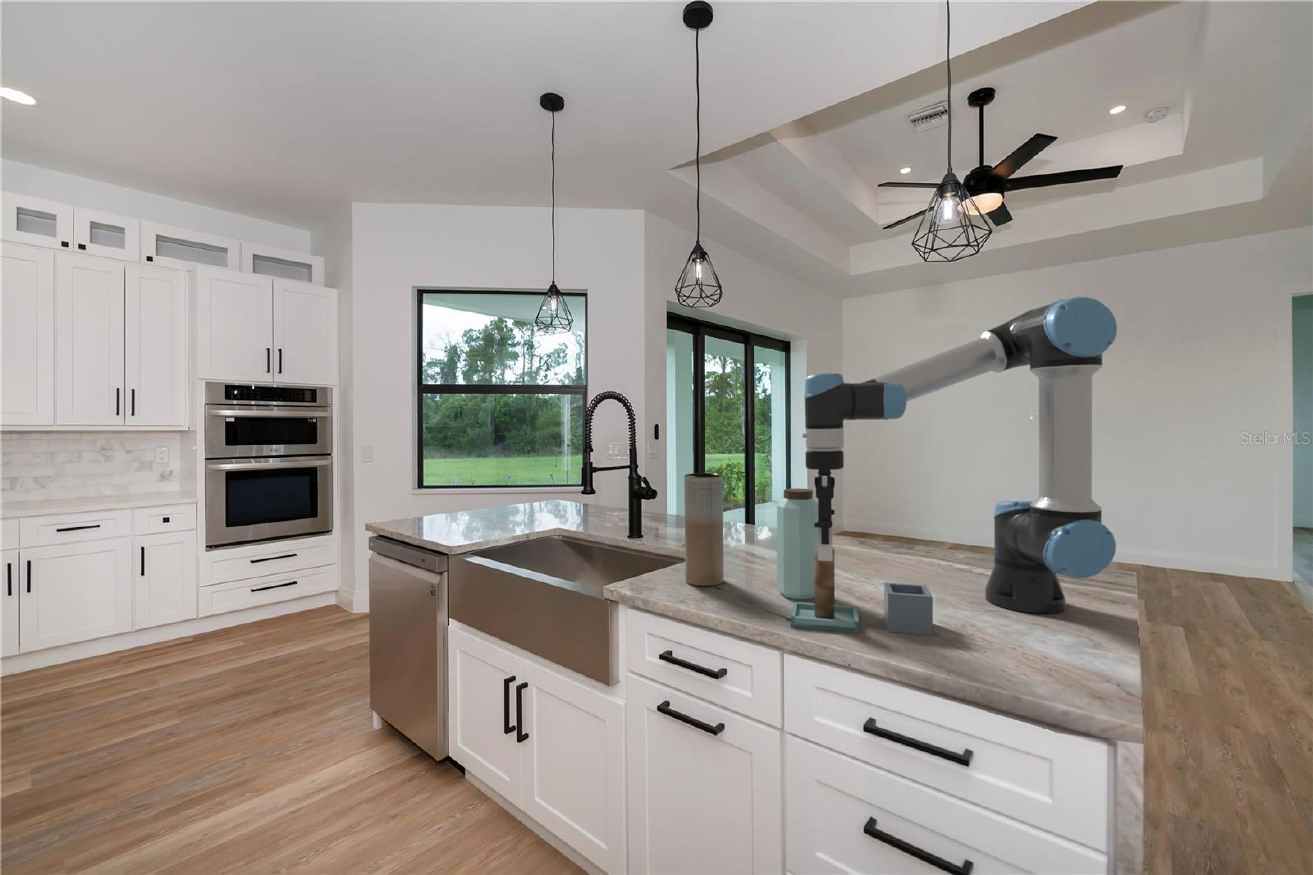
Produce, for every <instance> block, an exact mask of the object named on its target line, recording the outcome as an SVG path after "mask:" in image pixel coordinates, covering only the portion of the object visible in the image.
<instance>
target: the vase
mask: <svg viewBox="0 0 1313 875" xmlns="http://www.w3.org/2000/svg"><path fill="white" fill-rule="evenodd" d="M683 478H684V480H683V482H684V483H683V484H684V562H685V564H684V565H685V567H684V570H685V572H684V573H685V574H684V575H685V582H686V583H687V584H689V585H692V586H697V587H714V586H718V585H721V584H723V583H724V572H725V571H724V565H725V564H724V475H723V474H721V473H716V472H715V473H714V472H695V473H693V472H692V473H687V474H684V477H683Z"/></svg>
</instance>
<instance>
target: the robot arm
mask: <svg viewBox="0 0 1313 875" xmlns="http://www.w3.org/2000/svg"><path fill="white" fill-rule="evenodd" d="M1117 332H1118V324H1117V320H1116V317H1115V315H1114V313H1113V312H1112V310H1111V309H1110V308H1109V307H1108V306H1106V305H1105V304H1104V303H1103V302H1101V301H1100V300H1098V299H1095V298H1093V297H1088V296H1087V297H1086V296H1078V297H1077V296H1075V297H1071V298H1070V297H1069V298H1064V299H1059V300H1057V301H1054V302H1053V303H1050V304H1047V305H1044V306H1041V307H1038V308H1033V309H1031V310H1028V311H1026V312H1023V313H1022V314H1019V315H1017V316H1015V317H1014V318H1012V319H1009V320H1007V321H1006V322H1004V323H1002V324H999V325H997V326H995V327H993V328H991V329H988V330H986V331H983V332H982V333H980V334H979V336H978V338H977V339H974V340H971V341H969V342H967V343H964V344H961V345H959V346H956V347H953V348H950V349H948V350H945V351H943V352H940V353H938V354H935V355H933V356H930V357H927V358H925V359H921V360H919V361H916V362H914V363H911V364H908V365H906V366H903V367H900V368H897V369H895V370H893V371H890V372H887V373H883V374H882V375H880V376H877V377H876V376H875V377H873V378H871V379H869V380H866V381H864V382H859V383H858V382H855V383H850V382H845V381H844V376H843V374H841V373H832V372H831V373H829V372H828V373H814V374H810V375H808V376H807V377H806V379H805V384H804V385H805V387H804V396H803V397H804V398H803V399H804V415H805V416H804V418H805V420H804V422H805V424H804V427H805V432H806V433H805V432H804V433H802V436H801V437H802V439H805V447H806V448H807V449H808V450H806V451H805V468H807V469H809V470H818V472H817V475H818V476H815V477H814V488H815V498H816V499H818V500H817V501H818V502H817V503H818V523H814V527H818V560H820V561H833V551H832V548H833V518H832V515H835V509H832V499H834V497H835V496H834V494H835V493H834V492H835V491H834V489H835V487H836V486H835V485H836V483H835V482H836V480H835V477H834V476H832V471H833V470H836V471H837V470H842V469H843V468H844V467H845V466H844V464H845V462H844V461H845V460H844V459H845V458H844V455H845V453H844V451H843V450H842V448H844V447H845V444H844V443H845V438H844V437H845V435H844V434H845V432H844V421H856V420H857V421H858V420H859V421H861V420H863V421H864V420H867V421H868V420H869V421H870V420H871V421H873V420H885V421H888V420H897V419H900V418H902V417H903V416H904V415H905V414H904V413H905V412H906V410H907V409H906V408H907V402H910V401H912V400H914V399H918V398H920V397H923V396H926V395H928V394H931V393H934V392H937V391H940V390H942V389H945V388H948V387H951V386H953V385H956V384H959V383H962V382H964V381H966V380H970V379H972V378H974V377H975V378H976V377H978V376H980V375H983V374H985V373H989V372H994V373H997V374H998V373H1002V372H1004V371H1006V370H1011V369H1014V368H1018V367H1024V366H1029V371H1030V372H1031V374H1033V375H1034V376H1035V377H1037V379H1038V496H1037V498H1036V499H1034V500H1032V501H1031V500H1020V501H1018V500H1007V501H1006V500H1005V501H1004V500H1003V501H999V502H997V503H996V505H995V508H994V515H993V519H994V524H993V525H994V526H993V527H994V541H993V542H994V548H993V549H994V555H993V556H994V558H993V559H994V561H993V563H994V565H993V568H992V570H991V573H990V576H989V577H988V581H987V583H986V585H985V588H984V590H985V592H984V593H985V595H984V596H985V597H984V598H985V600H987V601H988V602H990V603H991V604H993V605H994V606H995V605H996V606H999V607H1000V608H1005V609H1008V610H1011V611H1012V610H1013V611H1018V612H1024V613H1033V614H1057V613H1061V612H1064V611H1065V610H1066V597H1065V593H1064V592H1063V588H1062V584H1061V582H1060V580H1059V578H1058V575H1062V576H1066V577H1070V578H1072V579H1073V578H1075V579H1085V578H1091V577H1094V576H1096V575H1098V574H1100V573H1102V571H1103V570H1104V569H1106V568H1108V567H1109V565H1110V564H1111V563H1112V561H1113V559H1114V558H1115V555H1116V551H1117V543H1116V537H1115V536H1114V534H1113V533H1112V532H1111V531H1110V530H1109V528H1108V527H1107V526H1106V525H1104V523H1102V507H1101V506H1100V505H1099V504H1098V503H1097V502H1095V501H1094V499H1093V491H1092V490H1093V485H1092V484H1093V483H1092V482H1093V376H1094V375H1095V374H1096V373H1097V372H1098V371H1099V370H1101V369H1102V368H1103V353H1104V352H1106V351H1107V350H1109V347H1110V346H1111V345H1113V343H1114V342H1115V339H1116V337H1117ZM831 470H832V471H831ZM1057 574H1058V575H1057Z"/></svg>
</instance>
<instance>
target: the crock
mask: <svg viewBox="0 0 1313 875" xmlns="http://www.w3.org/2000/svg"><path fill="white" fill-rule="evenodd" d="M933 599H934V597H933V594H932V593H931V592H930V590H929V588H928V586H927V585H926V584H916V583H902V582H901V583H899V582H886V581H885V582H883V619H884V622H885V625H886V629H887V632H890V633H891V632H893V633H902V634H903V633H905V634H915V635H924V636H925V635H926V636H933V635H934V634H933V631H934V630H933V629H934V626H933V622H934V621H933V620H934V617H933V613H934V611H933V610H934V608H933V607H934V606H933V605H934V604H933V602H934V600H933Z"/></svg>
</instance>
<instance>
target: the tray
mask: <svg viewBox="0 0 1313 875" xmlns="http://www.w3.org/2000/svg"><path fill="white" fill-rule="evenodd" d="M859 620H860V619H859V614H858V608H857V606H849V605H838V604H835V618H834V619H820V618H816V617H815V615H814V603H812V602H802V601H801V602H800V601H799V602H798V601H793V605H792V609H791V615H790V627H791V628H796V629H807V630H818V631H821V630H822V631H829V632H830V631H831V632H841V633H850V634H860V621H859Z"/></svg>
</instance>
